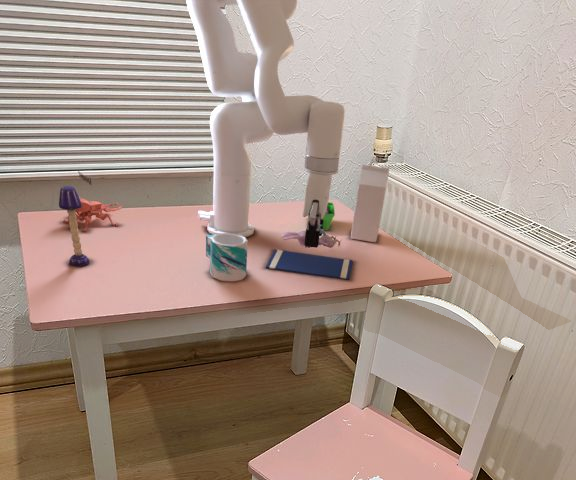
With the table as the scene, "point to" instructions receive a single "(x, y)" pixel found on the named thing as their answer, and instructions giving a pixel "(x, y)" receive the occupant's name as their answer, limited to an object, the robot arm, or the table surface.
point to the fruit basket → (328, 216)
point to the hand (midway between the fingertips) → (313, 240)
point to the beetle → (92, 210)
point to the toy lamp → (73, 222)
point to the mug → (227, 256)
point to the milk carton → (369, 203)
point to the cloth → (310, 264)
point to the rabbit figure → (323, 240)
